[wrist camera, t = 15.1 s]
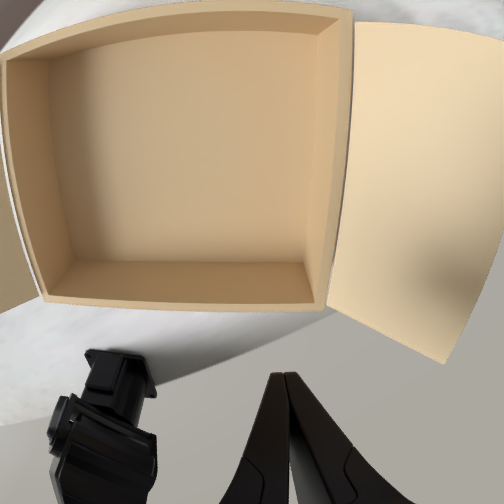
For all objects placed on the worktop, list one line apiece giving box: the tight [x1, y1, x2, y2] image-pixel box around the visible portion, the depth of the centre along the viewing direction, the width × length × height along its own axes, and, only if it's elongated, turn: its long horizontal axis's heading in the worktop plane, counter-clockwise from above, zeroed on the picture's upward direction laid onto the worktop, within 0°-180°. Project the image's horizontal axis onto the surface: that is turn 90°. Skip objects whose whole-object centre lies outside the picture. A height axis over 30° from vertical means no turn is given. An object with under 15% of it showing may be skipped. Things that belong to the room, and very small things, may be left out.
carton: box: [0, 0, 353, 312], centre depth 16 cm, size 16×18×5 cm
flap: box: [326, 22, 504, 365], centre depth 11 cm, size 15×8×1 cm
